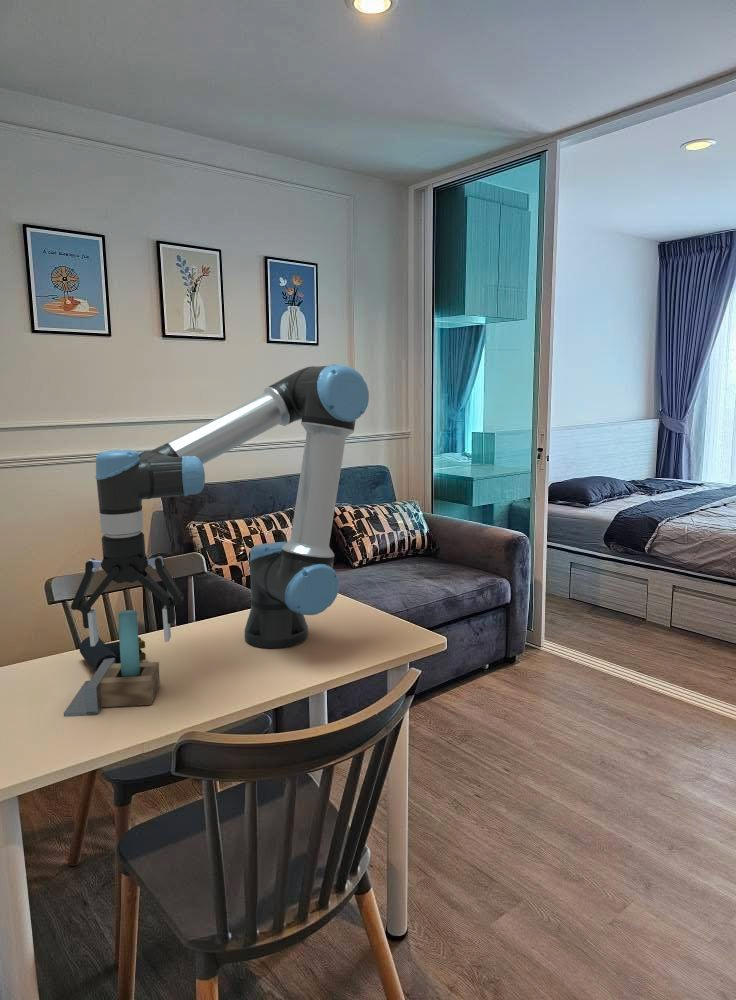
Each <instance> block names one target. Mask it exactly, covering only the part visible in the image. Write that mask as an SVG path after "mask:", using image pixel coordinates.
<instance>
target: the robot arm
mask: <svg viewBox="0 0 736 1000" xmlns="http://www.w3.org/2000/svg"><path fill="white" fill-rule="evenodd" d="M369 399H370V393H369V389H368V384H367V382H366V381H365V379H364V377H363V376H362V375H361V373H360V372H359V371H357V370H356V369H355V368H354V367H353V368H352V367H351V366H348V365H342V364H330V365H321V366H320V365H319V366H317V365H315V366H313V365H312V366H306V367H304V368H300V369H298V370H297V371H294V372H293V373H291V374H289V375H287V376H285V377H284V378H282V379H280V380H278V381H276V382H275V383H273V384H270V385H269V386H266V387H265V388H264V389H263V393H262V394H260V395H259V396H256V397H255V398H253V399H251V400H249V401H247V402H245V403H243V404H241V405H239V406H238V407H235V408H233V409H231V410H229V411H228V412H226V413H223V414H221V415H219V416H218V417H215V418H213V419H211V420H209V421H207V422H206V423H203V424H202V425H200V426H198V427H195V428H194V429H192V430H190V431H187V432H186V433H183V434H182V435H180V436H178V437H175V438H174V439H171V440H169V441H168V442H166V443H163V444H162V445H160V446H157V447H155V448H154V449H151V450H150V449H149V450H143V451H140V452H138V451H136V449H135V450H133V449H113V450H112V449H111V450H109V449H108V450H104V451H101V452H99V453H98V454H97V455H96V457H95V479H96V487H97V490H96V491H97V498H98V508H99V509H98V510H99V522H100V523H99V524H100V533H101V534H102V537H101V546H102V547H101V548H102V560H99V559H98V560H96V559H95V558H92V557H91V558H90V559H88V560H87V561H86V562H85V566H84V570H85V571H84V572H85V573H84V575H83V577H82V579H81V582H80V584H79V587H78V589H77V591H76V593H75V596H74V598H73V600H72V602H71V605H70V609H71V610H72V611H80V612H81V614H82V626H83V628H84V629H88V633H89V637H90V646H95V645H96V644H97V642H98V641H99V640H98V637H99V631H98V629H99V628H98V619H97V609H96V608H92V607H93V606H94V604H95V603H96V602H97V600H98V599H99V598H100V597H101V595H103V592H104V591H105V590H106V589H107V588H108V586H109V585H110V584H111V583H112V582H115V583H116V584H122V583H130V584H131V583H132V584H133V583H135V582H136V581H138V582H139V583H140V584H141V585H143V586H144V587H145V588H147V590H148V591H149V592H150V593H151V594H152V595H153V596H154V597H156V598H157V599H158V600H159V601H160V603H162V604H163V605H164V606H163V608H162V609H161V611H162V624H163V635H164V636H163V637H164V643H168V642H170V640H171V638H172V633H171V624H175V623H174V622H175V621H176V614H175V613H176V611H175V607H176V606H178V605H181V604H182V603H183V601H184V598H185V597H184V594H183V593H182V592H181V590H180V588H179V586H178V585H177V583H176V582H175V580H174V578H173V577H172V574H170V572H169V570H168V569H167V567H166V565H165V559H164V556H163V555H158V556H157V557H150V558H148V556H147V555H146V554H147V553H146V542H145V534H144V533H143V532H142V531H143V530H144V526H145V525H144V515H143V500H151V499H161V498H171V497H172V498H173V497H182V496H184V497H188V496H189V495H190V496H191V495H196V494H200V493H201V492H202V491H203V490H204V487H205V482H206V474H205V469H204V465H205V464H206V463H209V462H210V461H212V460H214V459H215V458H218V457H220V456H221V455H223V454H226V453H227V452H229V451H231V450H233V449H234V448H237V447H238V446H240V445H242V444H244V443H246V442H248V441H250V440H252V439H254V438H256V437H257V436H259V435H261V434H263V433H265V432H267V431H270V429H273V428H275V427H277V426H278V425H280V426H284V427H285V426H287V425H290V424H292V423H293V422H296V421H299V420H300V421H301V423H300V424H301V425H302V426H301V427H303V428H304V430H305V432H306V434H305V441H304V442H305V443H304V449H303V453H302V454H303V455H302V462H301V468H300V475H299V481H298V487H297V495H296V500H295V507H294V508H295V509H294V514H293V520H292V527H291V533H290V540H289V541H278V542H275V541H274V542H267V543H262V544H261V543H260V544H257V545H254V546H252V547H251V549H250V551H249V552H250V553H249V554H250V555H249V561H248V562H249V574H250V575H249V576H250V599H251V600H250V604H251V605H250V606H251V608H250V611H249V614H248V617H247V620H246V624H245V627H244V641H245V642H246V643H247V644H248V645H250V646H253V647H256V648H261V649H262V648H263V649H282V648H290V647H293V646H296V645H299V644H302V643H303V642H305V641H306V640H307V639H308V637H309V626H308V623H307V621H306V617H305V616H316V615H318V614H320V613H323V612H324V611H326V610H327V609H328V608H329V607H331V606H332V604H333V603H334V602H335V601H336V599H337V597H338V594H339V590H340V579H339V576H338V575H337V572H336V570H335V569H334V560H335V553H334V552H333V550H332V549H331V547H330V540H331V536H332V530H333V529H332V528H333V521H334V515H335V509H336V503H337V497H338V491H339V490H338V489H339V483H340V479H341V478H340V476H341V471H342V465H343V460H344V459H343V458H344V452H345V451H344V450H345V446H346V445H345V444H346V440H347V438H348V437H350V435H352V434H354V433H355V425H356V421H357V419H359V418H360V417H362V415H363V414H364V413H365V412H366V411H367V408H368V405H369ZM148 566H151V567H152V569H153V570H156V573H157V575H158V577H159V578H160V580H161V581H162V583H163V584H164V586H165V587H166V589H167V591H166V590H165V589H164V588H163V587H162V586H161V585H160V584H158V582H156V580H155V579H153V578H152V577H151V575H150V573H149V572H148V571H147V570H146V569H147V567H148ZM100 568H101V569H102V570H103V571H104V572H105V573H106V576H105V577H104V579H103V580H102V582H101V583H100V584H99V585H98V586H97V588H96V589H95V590H94V592H93V593H92V594H91V596H90V597H89V598H88V599H87V600H86V601H85V602H83V600H84V598H85V596H86V595H87V591H88V589H89V587H90V585H91V583H92V580H93V578H94V576H95V573H96V572H97V571H98V570H99V569H100ZM168 592H169V593H168Z"/></svg>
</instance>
